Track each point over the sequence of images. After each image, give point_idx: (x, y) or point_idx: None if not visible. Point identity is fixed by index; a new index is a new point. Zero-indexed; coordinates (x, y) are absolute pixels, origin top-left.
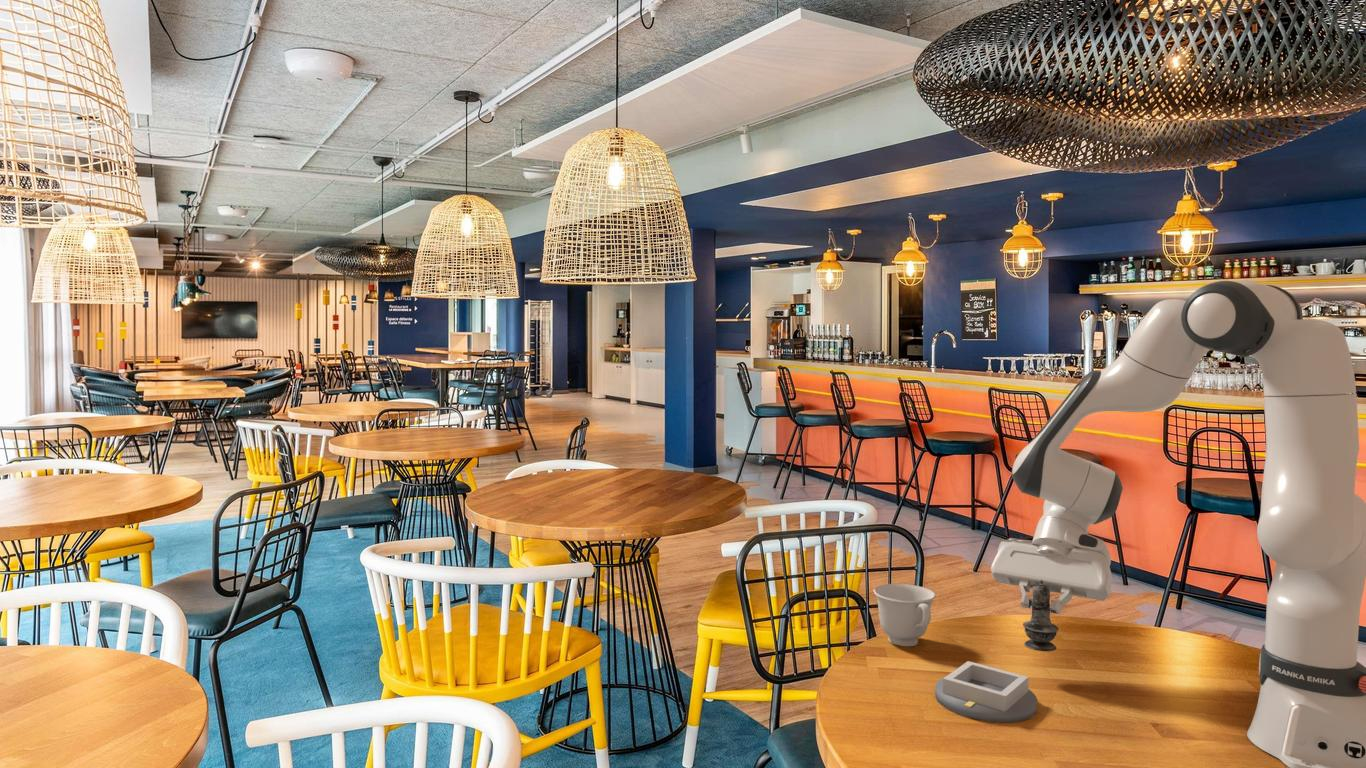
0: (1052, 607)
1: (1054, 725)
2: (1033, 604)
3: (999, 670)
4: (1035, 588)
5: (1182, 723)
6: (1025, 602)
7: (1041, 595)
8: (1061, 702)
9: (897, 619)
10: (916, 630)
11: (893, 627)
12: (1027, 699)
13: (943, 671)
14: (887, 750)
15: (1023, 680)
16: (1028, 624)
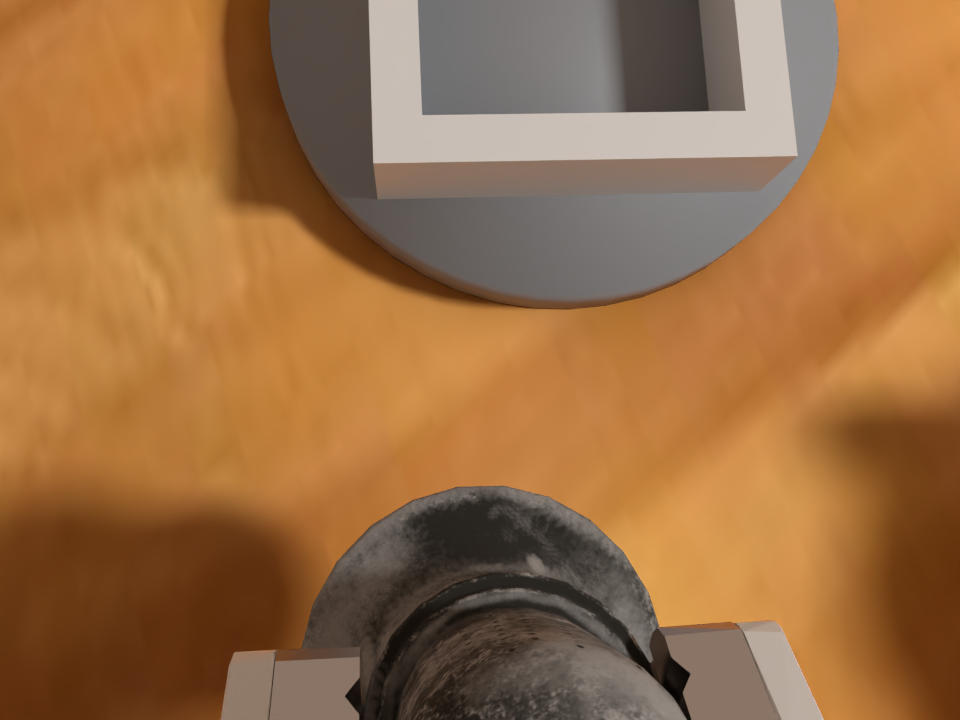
0: (314, 652)
1: (151, 3)
2: (593, 631)
3: (567, 140)
4: (632, 681)
5: None
6: (713, 632)
7: (487, 641)
8: (218, 330)
9: None
10: None
11: None
12: (336, 83)
13: (929, 284)
14: None
15: (375, 80)
16: (584, 572)
